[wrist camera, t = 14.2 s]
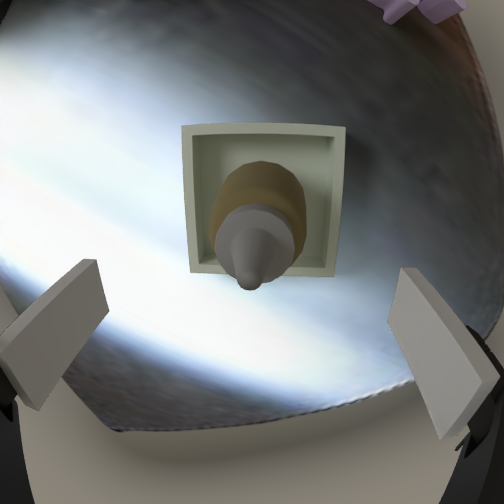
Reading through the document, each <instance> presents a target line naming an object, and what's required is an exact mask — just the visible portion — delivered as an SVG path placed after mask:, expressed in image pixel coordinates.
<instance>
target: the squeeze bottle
mask: <svg viewBox="0 0 504 504" xmlns="http://www.w3.org/2000/svg"><path fill="white" fill-rule="evenodd" d="M306 235H307V218H306V201H305V196H304V190H303V187H302V186H301V184H300V183H299V181H298V180H297V178H296V177H295V175H294V174H293V173H292V172H290V171H289V170H287V169H286V168H284V167H283V166H281V165H280V164H277V163H271V162H266V161H256V162H251V163H247V164H243V165H242V166H240V167H239V168H237V169H236V170H234V171H233V172H232V173H230V174H229V175H228V177H227V178H226V180H225V182H224V183H223V185H222V187H221V188H220V190H219V193H218V196H217V199H216V201H215V204H214V207H213V210H212V213H211V215H210V222H209V230H208V236H209V239H210V243H211V246H212V250H213V252H214V253H215V254H216V256H217V259H218V262H219V264H220V265H221V266H222V268H223V269H224V270H225V271H226V273H227V274H229V275H230V276H232V277H234V278H235V279H237V282H238V284H239V285H240V287H241V288H243V289H245V290H255V289H257V288H259V287H260V285H261V284H262V283H267V282H271V281H273V280H274V279H276V278H278V277H280V276H281V275H283V274H284V273H285V271H286V270H287V269H288V268H289V267H291V266H292V265H293V263H294V262H295V261H296V259H297V258H298V257H299V255H300V254H301V253H302V251H303V247H304V243H305V239H306Z"/></svg>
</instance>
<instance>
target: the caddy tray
mask: <svg viewBox="0 0 504 504" xmlns="http://www.w3.org/2000/svg"><path fill="white" fill-rule="evenodd" d="M345 130H346V127H339V126H327V125H313V124H293V123H218V124H198V125H184V126H182V161H183V183H184V201H185V216H186V230H187V242H188V254H189V265H190V273H211V274H227V273H226V271H225V270H224V269H223V268H222V266H221V265H220V264H219V262H218V259H217V256H216V254H215V253H214V252H213V250H212V246H211V243H210V239H209V236H208V230H209V222H210V215H211V213H212V210H213V207H214V204H215V201H216V199H217V196H218V193H219V190H220V188H221V187H222V185H223V183H224V182H225V180H226V178H227V177H228V175H229V174H230V173H232V172H233V171H234V170H236V169H237V168H239V167H240V166H242V165H243V164H247V163H251V162H256V161H266V162H271V163H277V164H280V165H281V166H283V167H284V168H286V169H287V170H289V171H290V172H292V173H293V174H294V175H295V177H296V178H297V180H298V181H299V183H300V184H301V186H302V187H303V190H304V196H305V201H306V218H307V235H306V239H305V243H304V247H303V251H302V253H301V254H300V255H299V257H298V258H297V259H296V261H295V262H294V263H293V265H292V266H291V267H289V268H288V269H287V270H286V271H285V273H284V274H283V275H281V276H316V277H334V272H335V264H336V256H337V247H338V238H339V228H340V217H341V206H342V193H343V177H344V159H345Z"/></svg>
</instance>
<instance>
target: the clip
mask: <svg viewBox="0 0 504 504" xmlns="http://www.w3.org/2000/svg"><path fill="white" fill-rule="evenodd" d="M368 1H369V2H371V3H372V4H374V5H376V6H378V7H380V8H382V9H383V10H384V15H383V20H384V21H385V22H386V23H388V24H390V25H392V24H394V23H395V22H396V21H397V20H399V19H400V18H401V17H402V16H404V15H405V14H406V13H407V12H409V11H410V10H411V9H413V8H414V7H415V6H416V5H417V7H418V9H419V10H420V11H421V13H422V14H423V15H424V16H425V17H426V18H427V19H429V20H430V21H431V22H432V23H433V24H438V23H440V22H442V21H443V20H445V19H447V18H449V17H451V16H453V15H455V14H457V13H459V12H461V11H463V10H464V9H466V8H467V4H466V2H465V1H464V0H422V1H421V2H420V3H419V1H420V0H368Z"/></svg>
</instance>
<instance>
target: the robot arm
mask: <svg viewBox="0 0 504 504" xmlns="http://www.w3.org/2000/svg"><path fill="white" fill-rule="evenodd" d="M10 2H11V0H0V23H1V21H2V19H3V17H4V16H5V14H6V11H7V9H8V7H9V5H10ZM108 312H109V308H108V305H107V301H106V297H105V294H104V290H103V286H102V282H101V278H100V273H99V269H98V265H97V260H95V259H83V260H82V261H80V262H79V263H78V264H77V265H76V266H74V267H73V268H72V269H71V270H70V271H69V272H67V273H66V274H65V275H64V276H63V277H62V278H60V279H59V280H58V281H57V282H56V283H55V284H54V285H52V286H51V287H50V288H49V289H48V290H47V291H46V292H45V293H44V294H42V295H41V296H40V297H39V298H38V299H37V300H36V301H35V302H34V303H33V304H32V305H31V306H29V307H28V308H27V309H26V310H25V311H24V312H23V313H22V314H21V315H20V316H19V317H17V318H16V320H14V322H12V324H10V325H9V326H8V327H7V329H6V330H4V331H3V333H2V334H1V335H0V504H35V503H34V499H33V495H32V492H31V488H30V484H29V479H28V475H27V470H26V465H25V460H24V454H23V448H22V441H21V433H20V424H19V414H18V405H17V402H16V401H15V399H14V398H15V397H16V395H17V394H18V396H19V397H20V398H21V400H22V401H23V403H24V404H25V405H26V406H28V407H30V408H32V409H34V410H37V411H39V410H40V408H41V407H42V405H43V404H44V402H45V401H46V399H47V397H48V396H49V394H50V393H51V391H52V390H53V388H54V387H55V385H56V384H57V382H58V381H59V379H60V378H61V377H62V375H63V374H64V372H65V371H66V369H67V368H68V366H69V365H70V364H71V362H72V361H73V359H74V358H75V357H76V355H77V354H78V352H79V351H80V350H81V348H82V347H83V345H84V344H85V343H86V341H87V340H88V339H89V337H90V336H91V335H92V333H93V332H94V330H95V329H96V328H97V326H98V325H99V324H100V323H101V321H102V320H103V319H104V317H105V316H106V315H107V313H108ZM387 322H388V324H389V326H390V328H391V330H392V332H393V334H394V336H395V338H396V340H397V342H398V344H399V346H400V348H401V350H402V352H403V354H404V357H405V359H406V361H407V363H408V365H409V367H410V369H411V372H412V374H413V376H414V378H415V381H416V383H417V385H418V387H419V390H420V392H421V394H422V397H423V399H424V401H425V404H426V406H427V409H428V411H429V414H430V416H431V419H432V421H433V423H434V426H435V429H436V431H437V434H438V436H439V439H440V441H441V440H444V439H447V438H451V437H454V436H457V435H458V434H459V433H460V432H461V431H462V430H463V429H464V427H465V426H466V425H468V427H469V429H470V432H469V433H468V434H467V435H466V436H465V438H464V439H463V440H462V441H461V442H460V444H459V445H458V446H457V447H456V449H455V451H458V450H459V449H460V447H461V446H462V445H463V447H462V450H461V453H460V455H459V458H458V461H457V463H456V466H455V468H454V471H453V474H452V476H451V478H450V481H449V483H448V485H447V487H446V490H445V492H444V494H443V496H442V498H441V500H440V502H439V504H504V369H503V367H502V365H501V364H500V363H499V361H498V360H497V358H496V357H495V355H494V354H493V353H492V352H490V349H489V347H488V346H487V345H486V344H485V342H484V340H483V339H482V338H481V336H480V335H479V334H478V333H477V332H476V331H474V330H473V329H472V328H470V327H469V326H464V324H463V323H462V322H461V320H460V319H459V318H458V317H457V315H456V314H455V313H454V312H453V310H452V309H451V308H450V307H449V305H448V304H447V303H446V302H445V300H444V299H443V298H442V297H441V296H440V294H439V293H438V292H437V291H436V290H435V288H434V287H433V286H432V285H431V284H430V283H429V281H428V280H427V279H426V278H425V277H424V276H423V275H422V274H421V272H420V271H419V270H418V269H417V268H416V267H401V269H400V274H399V278H398V282H397V287H396V291H395V295H394V299H393V302H392V306H391V310H390V314H389V317H388V321H387Z"/></svg>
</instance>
